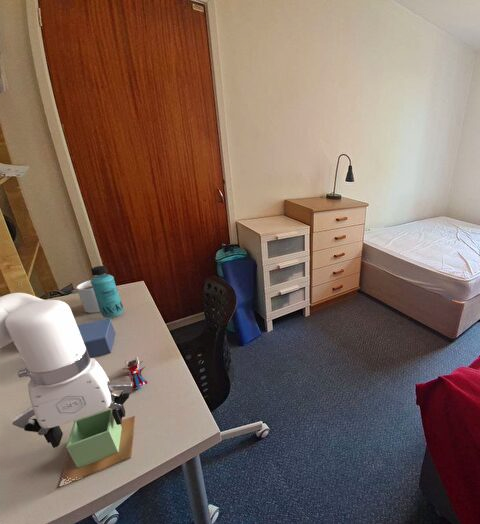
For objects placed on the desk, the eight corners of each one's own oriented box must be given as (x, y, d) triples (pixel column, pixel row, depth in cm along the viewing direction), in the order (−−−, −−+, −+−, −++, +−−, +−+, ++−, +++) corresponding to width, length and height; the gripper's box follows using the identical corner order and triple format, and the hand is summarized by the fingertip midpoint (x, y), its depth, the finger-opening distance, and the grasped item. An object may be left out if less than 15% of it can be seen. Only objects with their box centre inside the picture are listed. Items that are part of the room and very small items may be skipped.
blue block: (61, 366, 80) (53, 349, 78) (71, 343, 89) (64, 327, 87) (111, 353, 86) (105, 336, 84) (116, 333, 95) (110, 317, 93)
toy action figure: (129, 398, 71) (122, 382, 69) (123, 371, 79) (117, 356, 77) (152, 388, 75) (147, 372, 72) (144, 363, 83) (139, 348, 80)
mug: (82, 307, 108) (73, 284, 105) (112, 298, 116) (105, 276, 112) (90, 317, 103) (81, 293, 99) (121, 307, 110) (114, 284, 106)
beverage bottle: (98, 319, 102) (80, 269, 94) (118, 310, 108) (101, 262, 100) (111, 323, 100) (93, 272, 92) (130, 313, 106) (114, 265, 98)
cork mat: (59, 488, 53) (58, 487, 53) (73, 439, 61) (73, 438, 61) (131, 457, 58) (130, 456, 58) (135, 416, 67) (134, 415, 67)
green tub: (77, 469, 56) (66, 447, 53) (84, 441, 61) (74, 420, 58) (118, 452, 59) (109, 431, 56) (121, 427, 64) (113, 407, 61)
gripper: (-21, 399, 44) (23, 469, 50) (119, 362, 52) (141, 425, 59) (1, 368, 49) (37, 434, 56) (123, 339, 58) (142, 399, 65)
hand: (90, 429), depth 58 cm, fingers open, 9 cm apart
